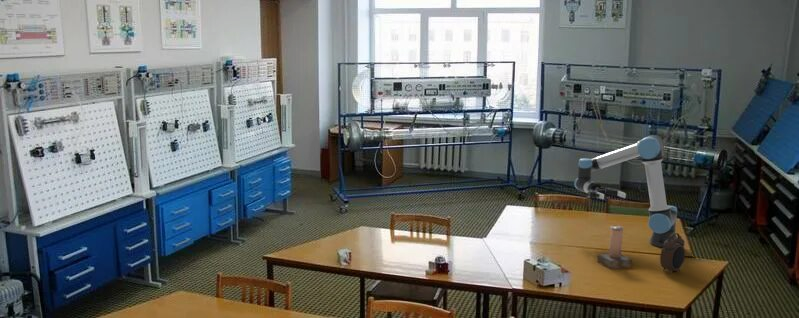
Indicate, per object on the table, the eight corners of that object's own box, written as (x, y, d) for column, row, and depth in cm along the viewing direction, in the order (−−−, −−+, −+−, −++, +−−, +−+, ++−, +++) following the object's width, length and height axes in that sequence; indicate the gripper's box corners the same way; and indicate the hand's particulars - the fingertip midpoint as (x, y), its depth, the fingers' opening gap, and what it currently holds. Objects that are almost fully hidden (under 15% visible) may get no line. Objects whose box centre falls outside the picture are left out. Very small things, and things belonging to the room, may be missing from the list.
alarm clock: (670, 276, 358) (674, 237, 354) (657, 272, 363) (660, 234, 360) (686, 270, 367) (689, 232, 363) (673, 267, 372) (676, 229, 369)
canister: (616, 254, 379) (618, 225, 376) (623, 258, 373) (625, 228, 370) (606, 255, 377) (608, 226, 374) (613, 258, 371) (615, 229, 368)
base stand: (618, 260, 383) (619, 252, 382) (631, 266, 372) (632, 259, 371) (597, 261, 379) (597, 254, 378) (610, 268, 368) (610, 261, 367)
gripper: (611, 193, 415) (633, 201, 395) (573, 196, 408) (593, 204, 388) (612, 181, 414) (634, 188, 394) (574, 183, 407) (594, 190, 386)
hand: (614, 196), depth 391 cm, fingers open, 13 cm apart
